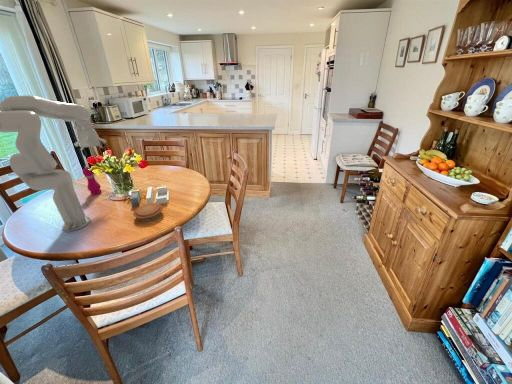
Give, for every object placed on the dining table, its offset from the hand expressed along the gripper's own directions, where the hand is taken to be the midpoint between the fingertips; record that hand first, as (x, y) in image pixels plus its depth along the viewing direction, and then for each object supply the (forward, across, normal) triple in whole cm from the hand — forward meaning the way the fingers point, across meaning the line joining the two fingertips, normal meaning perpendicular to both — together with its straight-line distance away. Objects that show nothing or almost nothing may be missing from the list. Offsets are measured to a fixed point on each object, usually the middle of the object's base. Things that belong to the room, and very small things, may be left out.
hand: (94, 154), depth 149 cm
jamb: (+27, +33, -22) cm, 48 cm away
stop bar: (+27, +20, -22) cm, 40 cm away
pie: (+27, +28, -42) cm, 58 cm away
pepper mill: (+27, -7, +2) cm, 28 cm away
